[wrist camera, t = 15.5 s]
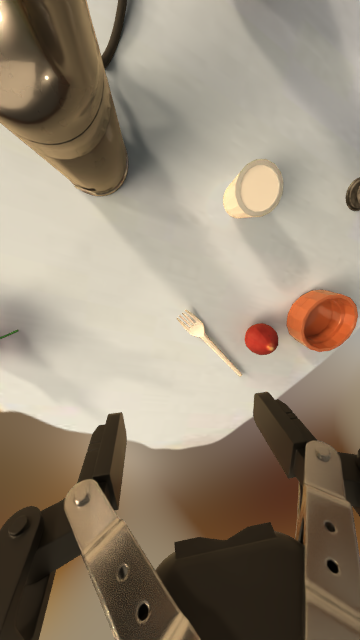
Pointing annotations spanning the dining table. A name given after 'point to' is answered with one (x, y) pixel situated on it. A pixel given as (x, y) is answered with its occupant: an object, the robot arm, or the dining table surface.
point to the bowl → (322, 319)
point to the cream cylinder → (254, 190)
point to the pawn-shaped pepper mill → (353, 195)
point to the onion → (261, 339)
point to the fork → (204, 336)
